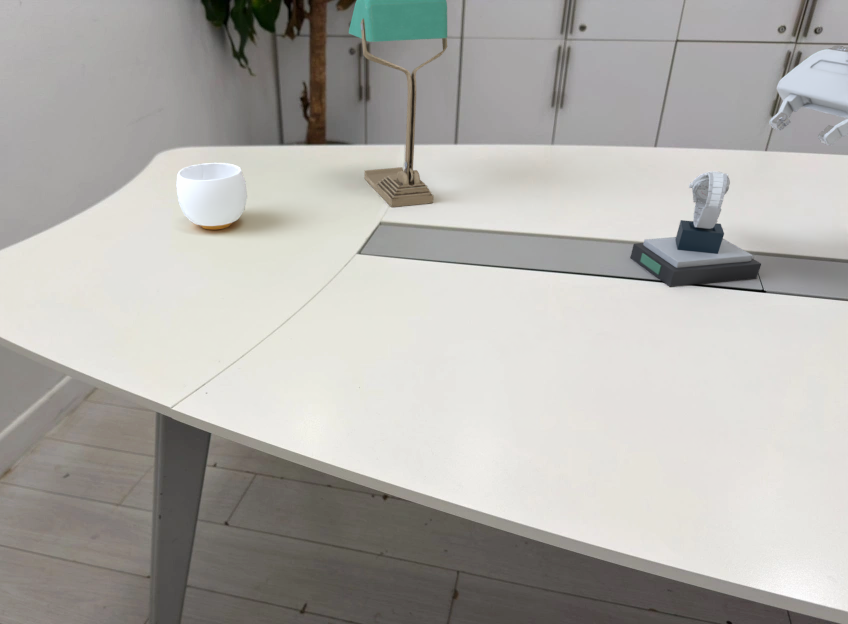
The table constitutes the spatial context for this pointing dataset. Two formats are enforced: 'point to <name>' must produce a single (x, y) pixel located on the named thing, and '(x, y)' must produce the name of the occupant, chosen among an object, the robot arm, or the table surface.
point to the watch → (704, 214)
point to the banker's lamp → (407, 20)
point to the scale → (694, 263)
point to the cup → (212, 194)
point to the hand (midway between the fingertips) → (797, 133)
